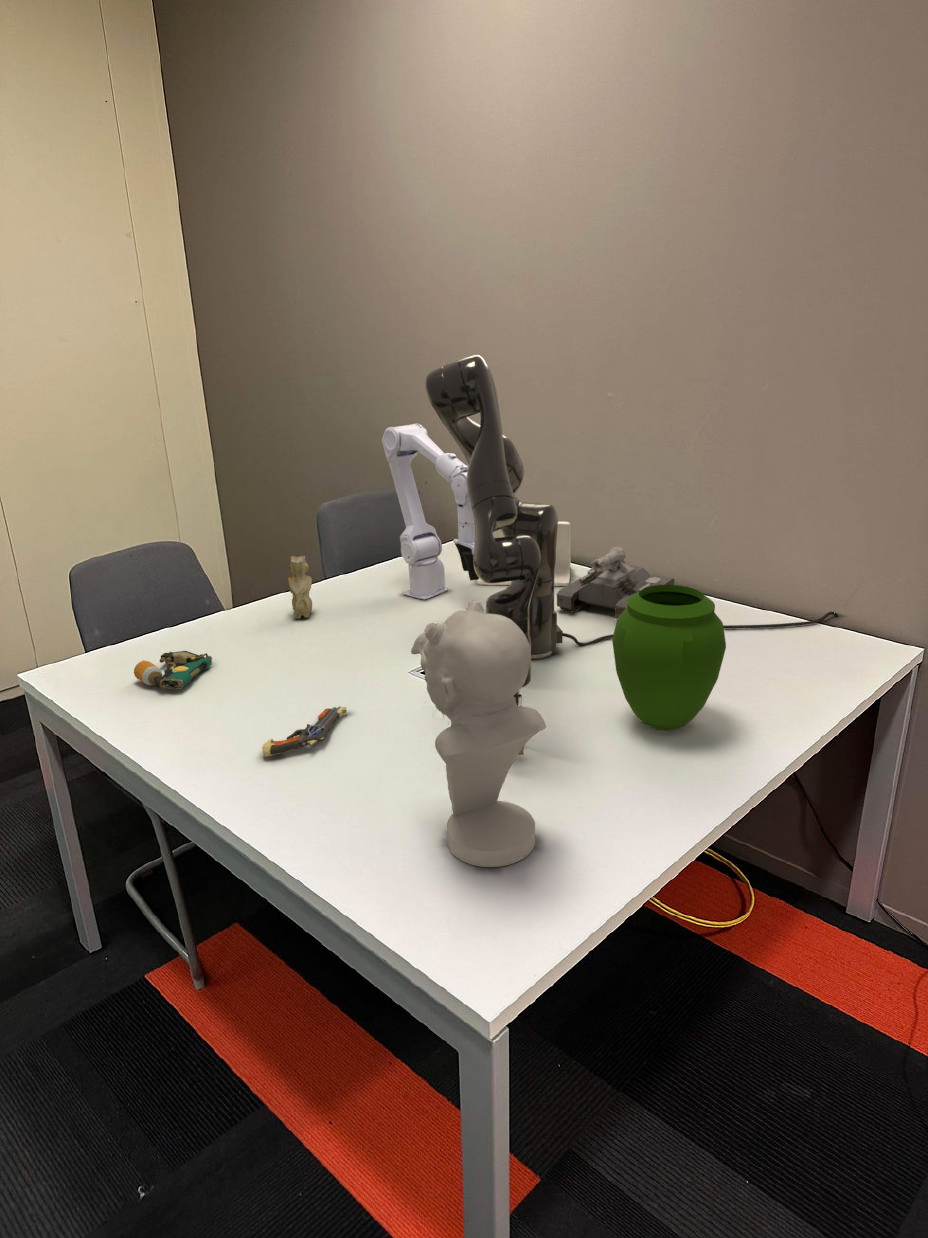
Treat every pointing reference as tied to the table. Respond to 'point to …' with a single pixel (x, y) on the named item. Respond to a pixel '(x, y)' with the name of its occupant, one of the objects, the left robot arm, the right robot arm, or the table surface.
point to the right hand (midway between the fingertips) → (509, 746)
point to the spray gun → (172, 669)
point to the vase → (668, 654)
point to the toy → (608, 584)
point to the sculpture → (300, 587)
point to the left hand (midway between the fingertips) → (471, 574)
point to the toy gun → (305, 733)
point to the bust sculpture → (481, 729)
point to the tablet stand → (561, 556)
